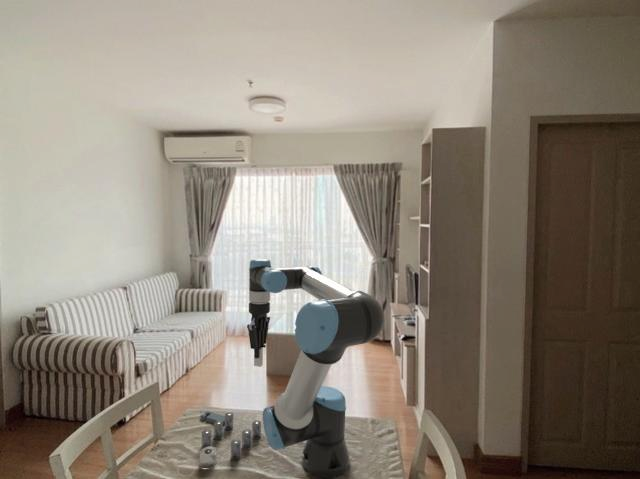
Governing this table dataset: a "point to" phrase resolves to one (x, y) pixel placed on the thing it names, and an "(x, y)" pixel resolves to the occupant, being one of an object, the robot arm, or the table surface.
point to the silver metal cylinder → (208, 457)
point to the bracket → (212, 417)
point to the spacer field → (235, 443)
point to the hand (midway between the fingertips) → (258, 365)
